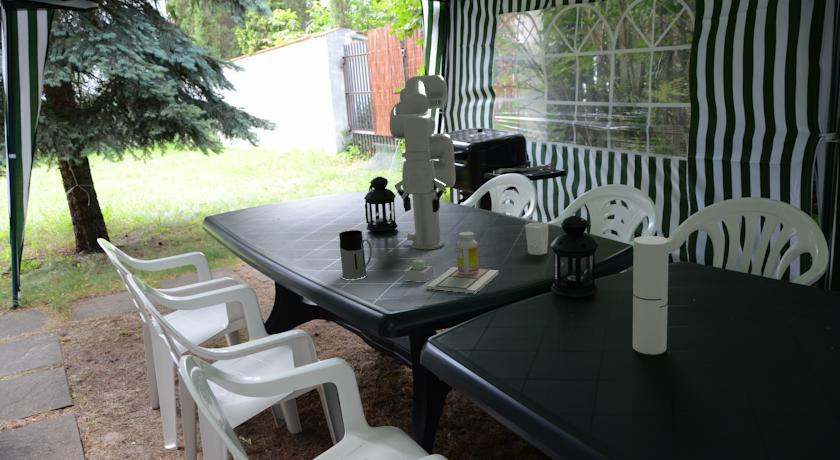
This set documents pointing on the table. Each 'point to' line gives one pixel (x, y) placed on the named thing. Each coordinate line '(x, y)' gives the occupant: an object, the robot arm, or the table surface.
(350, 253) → the grey and black mug
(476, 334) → the table surface
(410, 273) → the button box
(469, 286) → the picture board
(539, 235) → the white cup
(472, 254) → the supplement bottle
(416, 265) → the button
